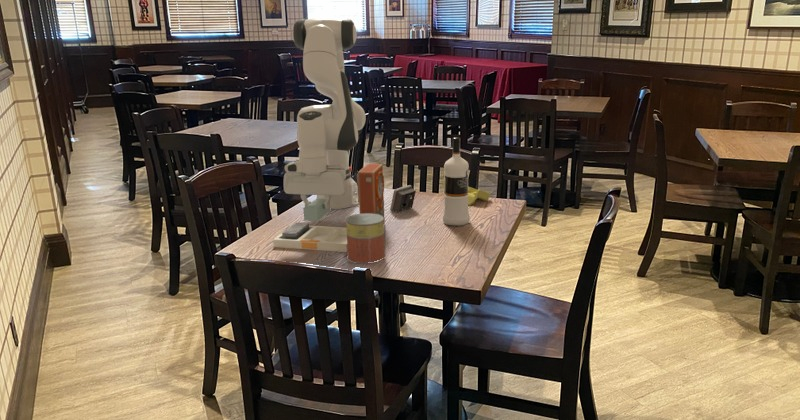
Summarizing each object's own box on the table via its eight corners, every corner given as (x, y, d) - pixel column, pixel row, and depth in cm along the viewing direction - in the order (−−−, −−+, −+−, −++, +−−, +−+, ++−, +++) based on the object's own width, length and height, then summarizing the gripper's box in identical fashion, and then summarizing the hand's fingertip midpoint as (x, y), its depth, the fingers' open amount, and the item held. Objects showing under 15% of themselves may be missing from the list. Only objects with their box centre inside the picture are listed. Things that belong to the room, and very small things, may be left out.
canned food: (367, 247, 188) (365, 210, 185) (393, 255, 181) (391, 217, 177) (339, 257, 181) (337, 219, 177) (365, 266, 173) (363, 227, 170)
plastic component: (492, 194, 236) (477, 188, 229) (485, 212, 237) (470, 206, 230) (456, 182, 250) (441, 176, 243) (450, 199, 251) (435, 193, 244)
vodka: (449, 217, 217) (449, 134, 208) (473, 220, 212) (474, 136, 204) (438, 224, 209) (438, 138, 200) (463, 228, 204) (463, 140, 196)
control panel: (387, 222, 212) (377, 236, 198) (368, 222, 214) (356, 235, 200) (385, 163, 206) (374, 173, 192) (365, 162, 208) (353, 172, 194)
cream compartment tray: (293, 232, 204) (293, 223, 203) (362, 237, 198) (361, 227, 197) (273, 248, 190) (272, 238, 189) (346, 253, 184) (346, 243, 183)
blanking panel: (317, 210, 197) (316, 198, 196) (330, 211, 196) (329, 199, 195) (304, 220, 187) (303, 208, 186) (317, 221, 186) (316, 208, 185)
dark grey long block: (297, 233, 201) (296, 222, 200) (309, 234, 200) (308, 223, 199) (283, 244, 191) (282, 233, 190) (296, 245, 190) (295, 233, 189)
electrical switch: (406, 206, 232) (407, 183, 229) (416, 209, 229) (417, 186, 226) (389, 212, 225) (390, 188, 222) (399, 215, 222) (400, 191, 219)
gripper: (349, 163, 187) (351, 206, 191) (288, 162, 192) (291, 204, 196) (342, 168, 181) (344, 212, 185) (279, 166, 186) (283, 209, 190)
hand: (316, 208), depth 190 cm, fingers closed on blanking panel, 4 cm apart
